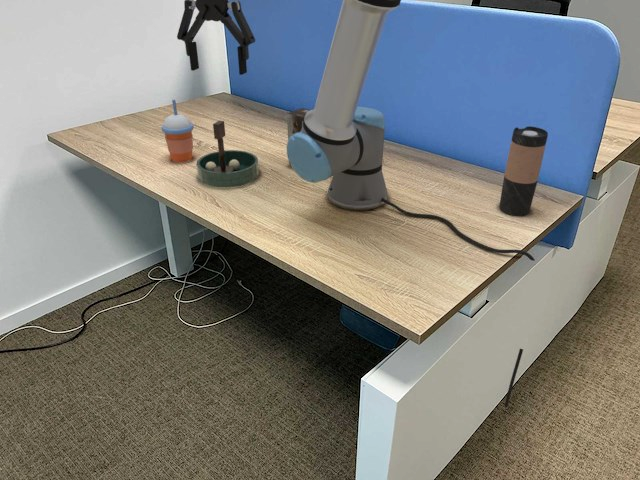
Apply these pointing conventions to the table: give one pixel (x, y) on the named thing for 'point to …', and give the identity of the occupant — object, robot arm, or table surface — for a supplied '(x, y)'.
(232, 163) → the dumpling
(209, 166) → the dumpling
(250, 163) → the bowl
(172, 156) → the cup with straw
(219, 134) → the brown handled stamp
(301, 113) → the coffee box
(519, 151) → the travel mug
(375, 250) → the table surface
